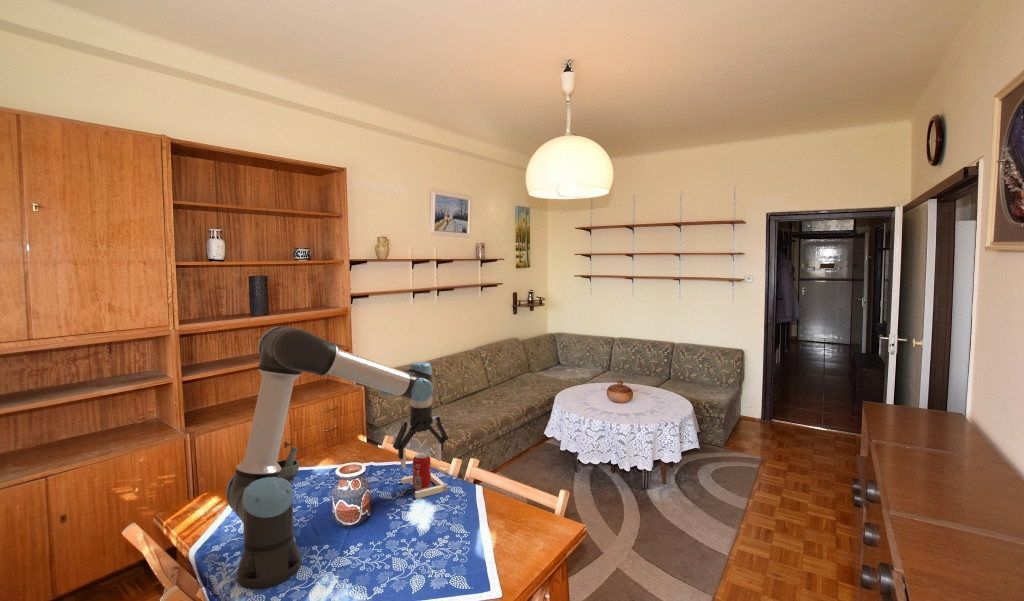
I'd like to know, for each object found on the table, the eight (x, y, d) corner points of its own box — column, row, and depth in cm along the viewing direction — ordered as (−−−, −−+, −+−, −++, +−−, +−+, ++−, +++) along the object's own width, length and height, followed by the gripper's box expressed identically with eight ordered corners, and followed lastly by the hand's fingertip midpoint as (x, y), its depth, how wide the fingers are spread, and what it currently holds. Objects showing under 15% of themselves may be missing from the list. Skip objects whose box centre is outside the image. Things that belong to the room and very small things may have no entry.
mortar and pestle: (286, 489, 175) (285, 456, 174) (264, 486, 177) (264, 453, 177) (307, 477, 185) (307, 446, 185) (287, 474, 188) (286, 443, 188)
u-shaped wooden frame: (447, 491, 173) (447, 485, 173) (416, 498, 167) (416, 493, 167) (430, 476, 185) (430, 471, 185) (401, 483, 179) (401, 478, 179)
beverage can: (434, 486, 177) (434, 454, 176) (422, 493, 171) (422, 459, 171) (421, 482, 180) (421, 450, 179) (409, 488, 175) (408, 456, 174)
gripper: (448, 398, 184) (448, 454, 185) (383, 407, 171) (384, 467, 172) (457, 403, 178) (457, 460, 179) (390, 412, 165) (391, 474, 165)
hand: (421, 463), depth 175 cm, fingers open, 13 cm apart
